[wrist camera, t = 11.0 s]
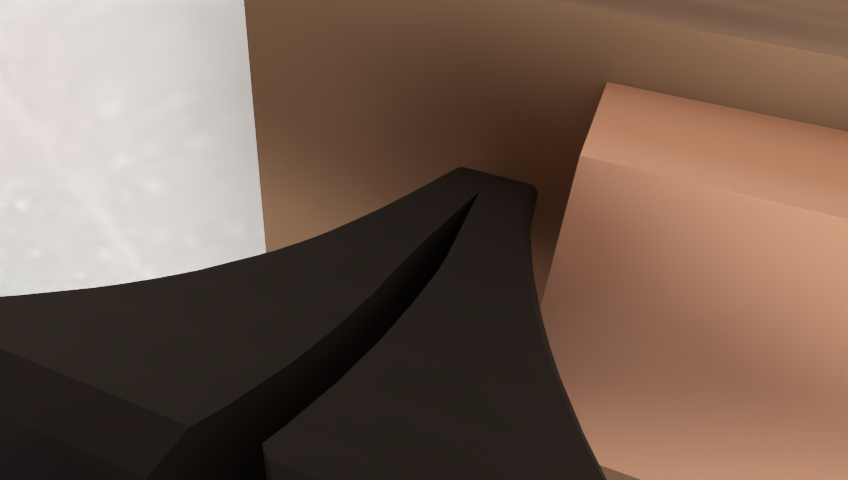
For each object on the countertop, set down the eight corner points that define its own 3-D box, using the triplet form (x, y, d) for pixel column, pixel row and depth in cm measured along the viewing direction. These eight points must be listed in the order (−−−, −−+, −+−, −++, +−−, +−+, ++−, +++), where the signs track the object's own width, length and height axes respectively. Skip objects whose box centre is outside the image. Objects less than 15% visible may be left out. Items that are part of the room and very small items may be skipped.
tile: (824, 420, 11) (851, 555, 9) (540, 331, 12) (507, 431, 10) (1012, 164, 8) (1118, 283, 6) (607, 81, 9) (580, 155, 7)
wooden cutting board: (677, 551, 20) (672, 685, 17) (346, 423, 23) (289, 517, 20) (1021, 23, 10) (1162, 115, 7) (352, -85, 13) (239, -54, 10)
